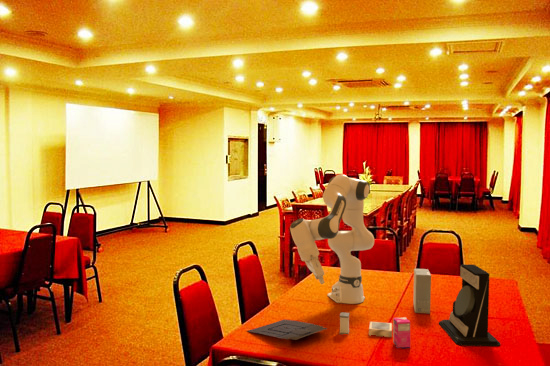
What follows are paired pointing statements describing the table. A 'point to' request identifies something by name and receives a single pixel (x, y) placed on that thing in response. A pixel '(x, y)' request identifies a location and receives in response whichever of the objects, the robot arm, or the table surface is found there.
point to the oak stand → (380, 329)
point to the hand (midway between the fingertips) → (320, 281)
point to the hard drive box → (422, 291)
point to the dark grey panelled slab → (288, 329)
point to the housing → (344, 323)
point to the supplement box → (401, 332)
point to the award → (471, 310)
